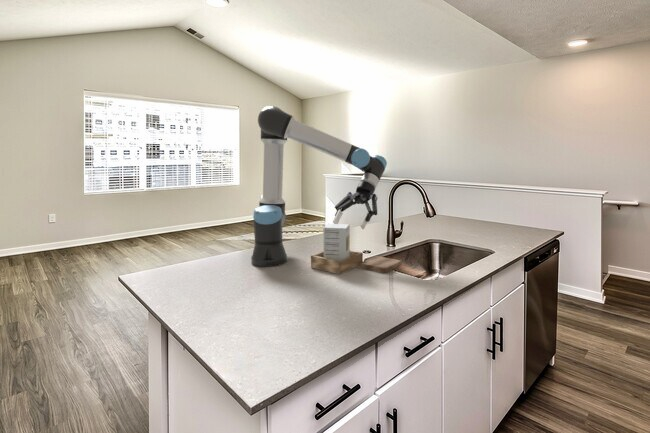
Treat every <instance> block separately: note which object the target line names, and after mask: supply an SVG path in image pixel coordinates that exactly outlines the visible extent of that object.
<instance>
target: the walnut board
mask: <svg viewBox="0 0 650 433" xmlns="http://www.w3.org/2000/svg"><path fill="white" fill-rule="evenodd" d="M402 262H403V261H402V259H401V260H399V259H395V258H390V257H383V256H378V255H375V256H372V257H370V258H368V259H366V260H363V262H361V263H359V266H358V268H359V269H362V270H368V271H372V272H378V273H381V274H388V273H390V272H392V271H394V270H396V269H397V268H399V267H401V266H403V265H402Z"/></svg>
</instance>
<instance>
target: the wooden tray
mask: <svg viewBox="0 0 650 433" xmlns="http://www.w3.org/2000/svg"><path fill="white" fill-rule="evenodd" d="M363 255H364V254H363V252H361V251H354V250H350V257H349V258H346V259H344V260H341V261H337V260H333V259H328V258H324V251H321V252H318V253H315V254H312V255H310V268H313V269H317V270H320V271H324V272H329V273H332V274H338V275H342V274H344V273H347V272H349V271H351V270H353V269H356V268H359V263H361V262H363V261H364V260H363V258H364V256H363Z"/></svg>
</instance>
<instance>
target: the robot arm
mask: <svg viewBox="0 0 650 433" xmlns="http://www.w3.org/2000/svg"><path fill="white" fill-rule="evenodd" d="M257 124H258V127H259V128H260V141H262V143H263V171H262V172H263V175H262V178H263V179H262V181H263V182H262V198H260V200H259V202H258V207H255V208H254V210H253V215H252V218H253V228H254V229H253V230H254V231H253V232H254V234H253V235H254V247H253V250H252V254H251V257H250V258H251V264H252V265H253V266H257V267H276V266H281V265H284V264H286V263H287V262H288V254H287V253H286V249H285V246H284V244H283V243H284V241H283V240H284V239H283V226H284V225H285V223H286V218H287V215H286V214H287V213H286V200H284V199H283V179H284V178H283V177H284V171H283V170H284V145H285V144H286V143H287V142H288V139H291V140H293V141H295V142H298V143H299V144H303V145H305V146H306V147H307V146H308V147H310V148H313V149H314V150H317V151H318V152H321V153H324V154H326V155H328V156H330V157H334V158H335V159H338V160H340V161H343V162H345V163H346V164H349V165H351V166H353V167H355V168H356V169H358V170H360V171H362V172H363V175H362V177H361V178H360V181H359V183H358V184H357V187H356V191H355V192H354V193H352V192H351V191H348V192H347V195H346V196H345V197H343V198H342V199H341V200H340V201H339V202H338V203H337V204H336V205H335V206H334V208H335V210H336V211H335V213H334V217H333V220H332V224H339V222H340V220H341V219H342V216H343V212H344V211H346V210H347V209H349V208H351V207H352V206H355V205H365V207H366V210H367V211H366V212H365V214H364V216H363V218H362V219H361V222H360V224H359V226H360V228H361V230H365V228H366V227H367V225H368V224H367V223H370V221H371V219H372V217H373V216H377V215H378V205H377V204H378V203H377V201H378V196H377V194H376V193H375V191H376V188H377V187H378V184H379V183H380V181H381V178H382V176H383V174H384V172H385V170H386V168H387V164H388V162H387V160H386V158H385V157H384V156H382V155H379V154H375V155H373V156H371V155H370V153H369V152H368V150H366V149H364V148H361V147H359V146H356V145H353V144H351V143H350V142H347V141H345V140H342V139H340V138H338V137H336V136H333V135H331V134H328V133H327V132H324V131H322V130H320V129H317V128H315V127H312V126H310V125H308V124H306V123H303V122H302V121H299V120H296V118H295V117H294V115H291V114H289V113H287V112H285V111H284V110H282V109H281V108H280V107H277V106H275V105H269V106H265V107H264V108H263V109H261V110H260V112H259V113H258V116H257ZM370 200H371V206H372V208H371V206H370V203H369V202H370Z"/></svg>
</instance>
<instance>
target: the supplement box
mask: <svg viewBox="0 0 650 433" xmlns="http://www.w3.org/2000/svg"><path fill="white" fill-rule="evenodd" d="M350 228H351V227H350V224H349V223H348V224H347V223H346V224H345V223H338V224H334V223H328V224H326V225H325V226H324V227H323V229H322V230H323V233H322V234H323V252H324V258H328V259H333V260H337V261H341V260H344V259H346V258H349V257H350V251H351V250H350V241H351V240H350V237H351V236H350V230H351V229H350Z"/></svg>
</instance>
